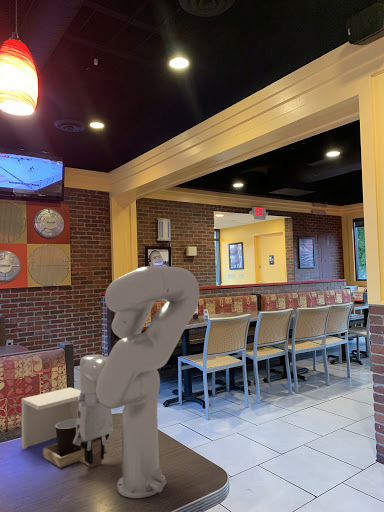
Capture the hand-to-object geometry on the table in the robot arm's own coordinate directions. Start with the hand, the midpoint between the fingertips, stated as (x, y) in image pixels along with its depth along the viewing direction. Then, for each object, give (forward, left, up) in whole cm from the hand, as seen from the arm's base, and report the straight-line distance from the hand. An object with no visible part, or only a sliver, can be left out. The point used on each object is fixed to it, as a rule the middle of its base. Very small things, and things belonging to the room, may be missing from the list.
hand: (94, 459), depth 110 cm
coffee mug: (+12, 0, -2) cm, 13 cm away
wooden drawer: (+9, 0, -1) cm, 9 cm away
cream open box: (+25, 0, -2) cm, 25 cm away
